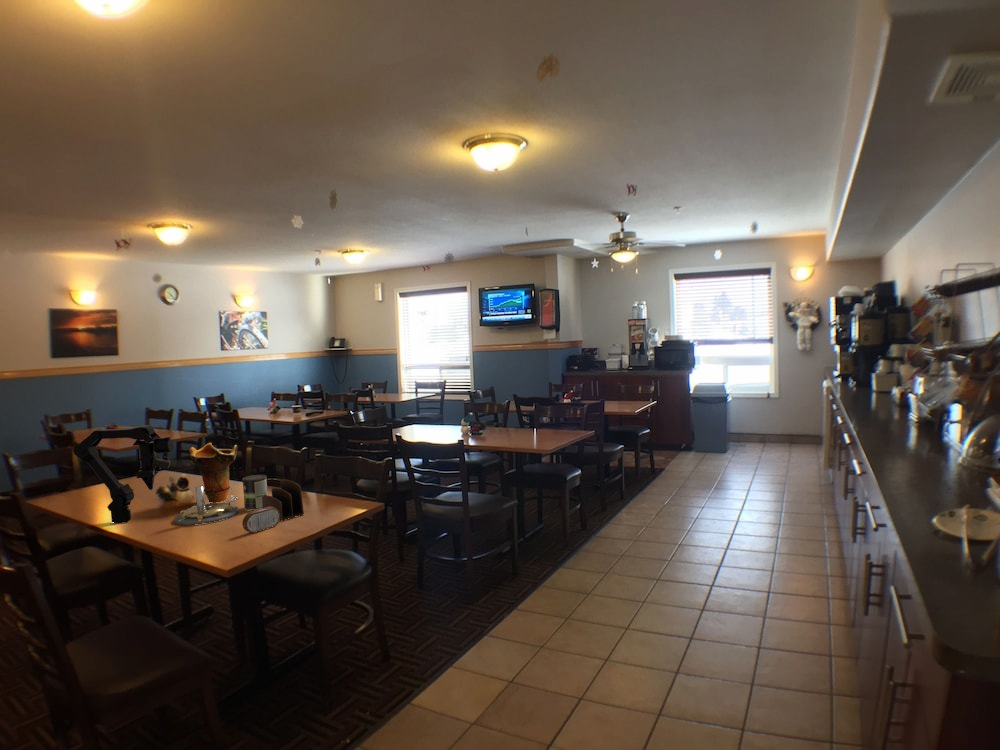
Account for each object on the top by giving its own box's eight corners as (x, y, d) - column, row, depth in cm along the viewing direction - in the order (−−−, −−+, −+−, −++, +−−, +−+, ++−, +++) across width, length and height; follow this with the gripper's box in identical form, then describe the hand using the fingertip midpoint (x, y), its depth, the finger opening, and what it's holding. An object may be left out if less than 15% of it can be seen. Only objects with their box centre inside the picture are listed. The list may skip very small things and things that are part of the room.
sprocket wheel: (188, 508, 268) (186, 479, 267) (237, 503, 272) (235, 475, 271) (173, 521, 248) (170, 490, 247) (226, 516, 252) (223, 486, 251)
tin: (278, 524, 244) (276, 503, 243) (282, 525, 242) (280, 505, 241) (242, 534, 232) (241, 513, 232) (246, 536, 230) (245, 514, 230)
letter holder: (284, 507, 269) (282, 476, 268) (304, 515, 255) (301, 483, 254) (262, 512, 262) (260, 481, 261) (281, 521, 248) (279, 488, 247)
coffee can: (243, 512, 264) (241, 481, 263) (245, 506, 273) (242, 476, 273) (268, 508, 267) (266, 478, 267) (268, 503, 277) (266, 473, 276)
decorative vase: (227, 506, 274) (220, 446, 272) (183, 508, 278) (175, 449, 277) (253, 494, 294) (247, 438, 293) (212, 496, 298) (205, 441, 297)
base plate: (170, 529, 244) (170, 524, 244) (179, 513, 267) (178, 509, 267) (236, 519, 253) (236, 515, 253) (239, 505, 276) (239, 501, 276)
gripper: (164, 455, 252) (168, 491, 253) (171, 448, 270) (175, 482, 271) (134, 459, 248) (138, 495, 249) (143, 452, 266) (147, 486, 267)
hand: (151, 489), depth 259 cm, fingers closed
